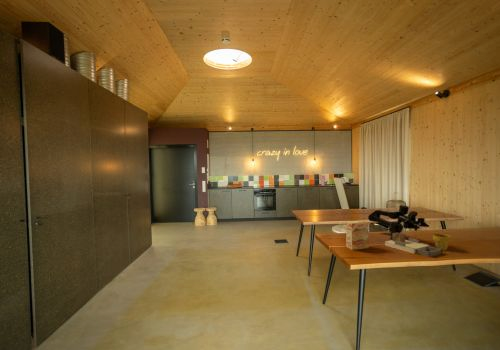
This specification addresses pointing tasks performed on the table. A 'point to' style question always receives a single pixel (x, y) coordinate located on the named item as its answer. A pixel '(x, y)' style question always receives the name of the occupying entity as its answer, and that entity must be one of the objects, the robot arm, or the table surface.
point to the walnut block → (398, 237)
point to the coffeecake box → (357, 235)
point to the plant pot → (441, 241)
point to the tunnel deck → (414, 247)
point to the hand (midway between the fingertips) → (424, 227)
